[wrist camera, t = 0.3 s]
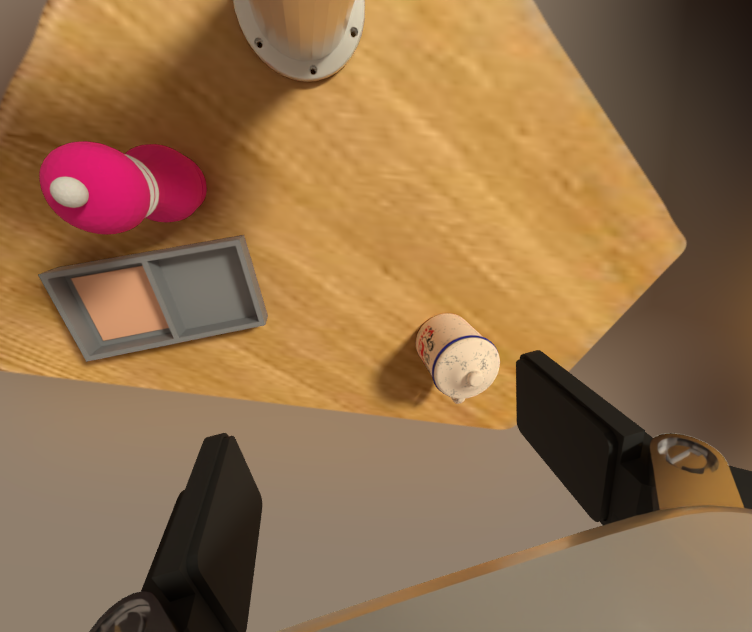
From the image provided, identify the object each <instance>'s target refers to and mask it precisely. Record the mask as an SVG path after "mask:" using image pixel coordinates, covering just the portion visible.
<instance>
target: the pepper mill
mask: <svg viewBox="0 0 752 632" xmlns="http://www.w3.org/2000/svg"><path fill="white" fill-rule="evenodd" d="M40 185H41V190H42V192H43V195H44V197H45V199H46V201H47V203H48V204H49V206H50V207H51V208H52V209H53V210H54V211H55V213H56V214H57V215H59V216H60V217H61V218H62V219H63V220H64V221H66V222H68V223H69V224H71V225H72V226H75V227H77V228H79V229H82V230H85V231H87V232H92V233H97V234H117V233H121V232H125V231H128V230H130V229H132V228H134V227H136V226H137V225H138V224H140V223H141V222H142V220H143V219H144V218H147V219H150V220H154V221H157V222H175V221H180V220H183V219H185V218H187V217H189V216H190V215H191V214H193V213H194V212H195V210H196V209H197V208H198V207H199V206H200V205H201V204H202V203H203V201H204V199H205V196H206V191H207V187H206V181H205V177H204V175H203V173H202V171H201V170H200V168H199V167H198V166H197V165H196V164H195V163H194V162H193V161H192V160H191V159H189V158H188V157H186V156H184V155H182V154H181V153H179V152H178V151H176V150H174V149H172V148H170V147H167V146H163V145H157V144H149V145H140V146H137V147H134V148H132V149H130V150H129V151H127V152H126V153H125V154H123V153H122V152H120V151H118V150H116V149H114V148H111V147H109V146H106V145H104V144H100V143H94V142H87V141H84V142H72V143H68V144H65V145H62V146H60V147H58V148H56V149H54V150H53V151H51V152H50V153H49V155H48V156H47V157H46V158H45V159H44V161H43V163H42V165H41V168H40Z"/></svg>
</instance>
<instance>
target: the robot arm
mask: <svg viewBox="0 0 752 632" xmlns="http://www.w3.org/2000/svg"><path fill="white" fill-rule="evenodd" d="M233 3H234V9H235V12H236V15H237V18H238V22H239V25H240V27H241V29H242V31H243V34H244V36H245V37H246V39H247V41H248V43H249V44H250V46H251V48H252V49H253V50H254V52H255V53H256V54H257V55H258V56H259V58H260V59H261V60H262V61H263V62H264V63H266V64H267V65H268V66H269V67H270V68H271V69H273V70H274V71H276V72H278V73H279V74H281V75H283V76H285V77H288V78H290V79H293V80H298V81H305V82H309V81H319V80H322V79H325V78H328V77H330V76H332V75H333V74H335V73H337V72H338V71H339V70H340V69H342V68H343V67H344V66H345V65H346V64H347V62H348V61H349V60H350V58H351V57H352V55H353V54H354V52H355V50H356V48H357V46H358V43H359V41H360V38H361V35H362V31H363V25H364V20H365V0H233ZM352 32H353V33H354V34H355V37H352V36H351V33H352ZM258 43H261V44H262V48H259V47H258V46H257V45H258ZM311 70H314V71H315V74H314V75H313V74H311V72H310V71H311ZM516 402H517V426H518V428H519V430H520V432H521V433H522V435H523V436H524V437H525V438H526V440H527V441H528V442H529V443H530V444H531V446H532V447H533V448H534V449H535V451H536V452H537V453H538V454H539V455H540V457H541V458H542V459H543V460H544V461H545V463H546V464H547V465H548V466H549V467H550V469H551V470H552V471H553V472H554V474H555V475H556V476H557V477H558V478H559V480H560V481H561V482H562V483H563V485H564V486H565V487H566V488H567V489H568V491H569V492H570V493H571V494H572V495H573V497H574V498H575V499H576V500H577V501H578V503H579V504H580V505H581V506H582V508H583V509H584V510H585V511H586V512H587V514H588V515H589V516H590V517H591V518H592V519H593V520H594V521H596V522H599V521H600V522H601V524H602V525H603V526H600V527H596V528H593V529H590V530H586V531H583V532H580V533H577V534H573V535H571V536H567V537H564V538H561V539H558V540H554V541H551V542H549V543H545V544H542V545H539V546H536V547H532V548H529V549H526V550H523V551H520V552H517V553H514V554H511V555H507V556H504V557H501V558H498V559H495V560H492V561H489V562H486V563H483V564H479V565H476V566H473V567H470V568H467V569H464V570H461V571H458V572H455V573H451V574H449V575H445V576H442V577H439V578H436V579H433V580H430V581H427V582H424V583H421V584H418V585H415V586H411V587H409V588H405V589H402V590H399V591H396V592H393V593H390V594H387V595H384V596H381V597H378V598H375V599H372V600H369V601H366V602H363V603H360V604H357V605H354V606H351V607H348V608H345V609H342V610H339V611H336V612H333V613H330V614H327V615H324V616H320V617H318V618H315V619H311V620H308V621H306V622H302V623H299V624H297V625H294V626H291V627H288V628H285V629H282V630H279V631H277V632H752V471H748V470H744V469H740V468H736V467H732V466H728V463H727V461H726V460H725V458H724V456H723V455H722V454H721V453H720V452H718V451H717V450H716V449H715V448H714V447H712V446H710V445H709V444H707V443H706V442H703V441H701V440H699V439H696V438H694V437H690V436H687V435H683V434H675V433H666V434H660V435H658V436H655V437H654V438H652V437H651V436H650V435H648V434H647V433H646V432H645V430H644V429H642V428H641V427H640V426H638V425H637V424H636V423H635V422H633V421H632V420H630V419H629V418H628V417H626V416H625V415H624V414H623V413H621V412H620V411H619V410H617V409H616V408H615V407H614V406H612V405H611V404H610V403H608V402H607V401H606V400H604V399H603V398H602V397H600V396H599V395H598V394H596V393H595V392H594V391H593V390H591V389H590V388H589V387H587V386H586V385H585V384H583V383H582V382H581V381H580V380H578V379H577V378H576V377H574V376H573V375H572V374H570V373H569V372H568V371H566V370H565V369H564V368H562V367H561V366H560V365H559V364H557V363H556V362H555V361H553V360H552V359H551V358H549V357H548V356H547V355H545V354H544V353H543V352H541V351H540V350H536V351H533V352H529V353H525V354H522V355H521V356H520V360H517V362H516ZM261 513H262V498H261V495H260V492H259V490H258V488H257V486H256V484H255V481H254V479H253V477H252V475H251V472H250V470H249V468H248V466H247V463H246V461H245V459H244V457H243V455H242V452H241V450H240V448H239V446H238V444H237V441H236V439H235V437H234V436H228V435H227V434H226V433H222V434H218V435H214V436H210V437H207V438H205V439H204V441H203V444H202V446H201V449H200V452H199V454H198V457H197V459H196V462H195V465H194V467H193V470H192V473H191V475H190V478H189V481H188V483H187V486H186V489H185V490H183V491H182V492H181V493H180V495H179V497H178V498H177V501H176V504H175V506H174V508H173V511H172V514H171V516H170V519H169V521H168V524H167V527H166V529H165V531H164V534H163V537H162V539H161V542H160V544H159V547H158V549H157V552H156V554H155V557H154V560H153V562H152V565H151V568H150V570H149V573H148V575H147V578H146V580H145V583H144V585H143V588H142V590H141V592H136V593H133V594H131V595H128V596H127V597H124V598H122V599H121V600H120V601H118V602H117V603H115V604H114V605H113V606H112V607H110V608H109V609H108V610H107V611H106V612H105V613H104V614H103V615H102V616H101V617H100V618H99V619H98V621H97V622H96V623H95V625H94V626H93V627H92V629H91V630H90V631H89V632H246V629H247V622H248V614H249V607H250V599H251V590H252V583H253V576H254V568H255V559H256V552H257V544H258V537H259V529H260V521H261Z"/></svg>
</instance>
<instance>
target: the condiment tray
mask: <svg viewBox="0 0 752 632" xmlns="http://www.w3.org/2000/svg"><path fill="white" fill-rule="evenodd" d="M38 276H39V277H40V279H41V281H42V283H43V285H44V286H45V288H46V290H47V292H48V294H49V295H50V297H51V299H52V301H53V303H54V304H55V306H56V308H57V310H58V311H59V313H60V315H61V317H62V319H63V320H64V322H65V324H66V326H67V328H68V329H69V331H70V333H71V335H72V336H73V338H74V340H75V342H76V344H77V345H78V347H79V349H80V351H81V353H82V354H83V356H84V358H85V360H86V362H87V361H92V360H97V359H102V358H106V357H111V356H116V355H121V354H126V353H131V352H136V351H141V350H146V349H151V348H155V347H160V346H165V345H170V344H175V343H180V342H185V341H190V340H195V339H199V338H204V337H209V336H214V335H219V334H224V333H229V332H234V331H239V330H244V329H248V328H253V327H258V326H263V325H265V324H266V321H267V317H268V315H267V311H266V308H265V305H264V301H263V298H262V294H261V291H260V288H259V284H258V281H257V278H256V274H255V271H254V267H253V264H252V261H251V257H250V254H249V250H248V247H247V244H246V240H245V237H244V235H241V236H235V237H229V238H223V239H218V240H212V241H206V242H200V243H195V244H189V245H183V246H177V247H172V248H166V249H160V250H154V251H149V252H143V253H137V254H131V255H126V256H120V257H114V258H108V259H103V260H97V261H91V262H85V263H80V264H74V265H68V266H62V267H57V268H54V269H52V270H49V271H46V272H44V273H41V274H39V275H38Z"/></svg>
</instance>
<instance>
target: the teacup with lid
mask: <svg viewBox="0 0 752 632" xmlns="http://www.w3.org/2000/svg"><path fill="white" fill-rule="evenodd" d="M416 349H417V352H418V355H419V356H420V358H421V359H422V361H423V363H424V364H425V366H426V367H427V369H428V371H429V372H430V374H431V375H432V378H433V381H434V384H435V385H436V387H437V388H438V389H439V390H440V391H441V392H442V393H444V394H445V395H447V396H449V397H451V398H452V400H453V401H454V402H455V403H457V404H458V403H462V402H463V401H464V400H465V398H470V397H473V396H476V395H478V394H480V393H481V392H483V391H484V390H486V389H487V388H488V387H489V386H490V385H491V384H492V382H493V381H494V379H495V378H496V376H497V374H498V371H499V365H500V359H499V354H498V351H497V349H496V347H495V346H494V344H493V343H492V342H491V341H489V340H488V339H486V338H484V337H482V336H481V335H480V334H479V333H478V332H477V331H476V330H475V329H474V328H473V327H472V326H471V325H469V324H468V323H467V322H466V321H465V320H464V319H463V318H461V317H460V316H458V315H455V314H449V313H448V314H440V315H437V316H434V317H432V318H431V319H429V320H428V321H427V322H425V323H424V325H423V326H422V327H421V328H420V330H419V332H418V334H417V338H416Z"/></svg>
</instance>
